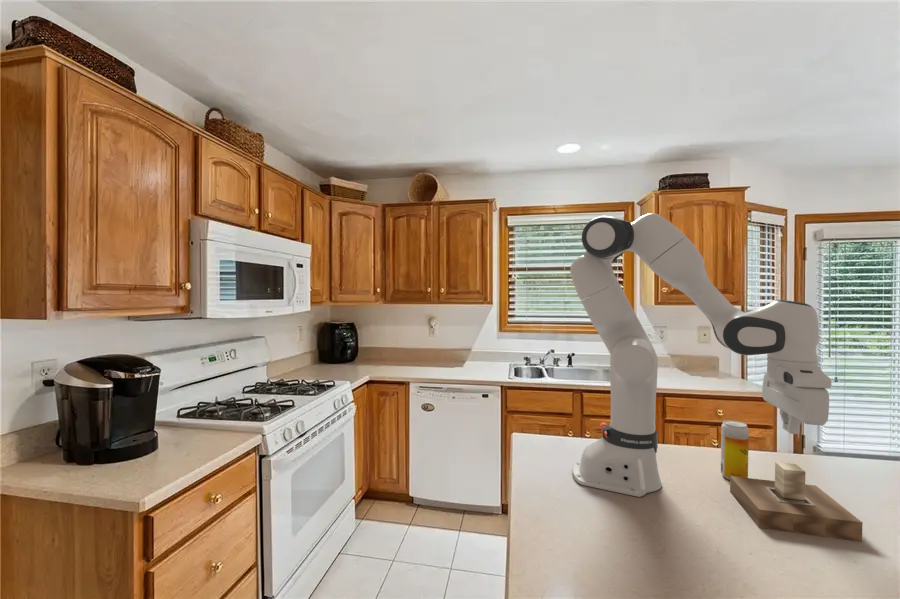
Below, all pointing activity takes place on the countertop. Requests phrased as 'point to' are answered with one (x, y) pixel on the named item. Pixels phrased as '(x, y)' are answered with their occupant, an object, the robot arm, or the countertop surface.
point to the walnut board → (795, 510)
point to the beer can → (734, 449)
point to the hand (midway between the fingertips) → (790, 431)
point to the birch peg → (789, 482)
